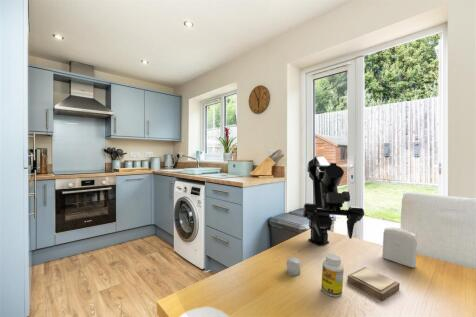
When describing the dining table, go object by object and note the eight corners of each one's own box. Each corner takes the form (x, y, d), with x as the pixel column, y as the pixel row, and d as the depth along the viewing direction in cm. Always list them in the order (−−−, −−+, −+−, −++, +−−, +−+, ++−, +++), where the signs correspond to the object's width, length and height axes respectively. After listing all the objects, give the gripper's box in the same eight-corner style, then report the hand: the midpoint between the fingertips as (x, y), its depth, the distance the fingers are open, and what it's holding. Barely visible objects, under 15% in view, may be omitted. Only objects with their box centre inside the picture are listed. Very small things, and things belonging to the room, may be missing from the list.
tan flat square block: (347, 281, 69) (347, 274, 68) (364, 272, 74) (365, 266, 74) (382, 300, 60) (382, 292, 60) (399, 289, 65) (399, 281, 65)
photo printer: (380, 257, 85) (382, 226, 84) (384, 254, 88) (386, 223, 87) (413, 269, 77) (416, 234, 76) (417, 265, 80) (419, 231, 79)
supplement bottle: (317, 287, 66) (318, 253, 65) (332, 284, 67) (334, 251, 67) (330, 299, 60) (332, 262, 60) (346, 295, 62) (348, 260, 61)
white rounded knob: (283, 272, 73) (284, 260, 73) (290, 267, 76) (291, 256, 76) (296, 278, 70) (296, 265, 70) (302, 272, 73) (303, 260, 73)
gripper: (305, 180, 76) (307, 224, 66) (364, 183, 72) (376, 230, 63) (302, 196, 84) (303, 237, 75) (355, 199, 81) (363, 243, 71)
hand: (335, 236), depth 70 cm, fingers open, 9 cm apart
